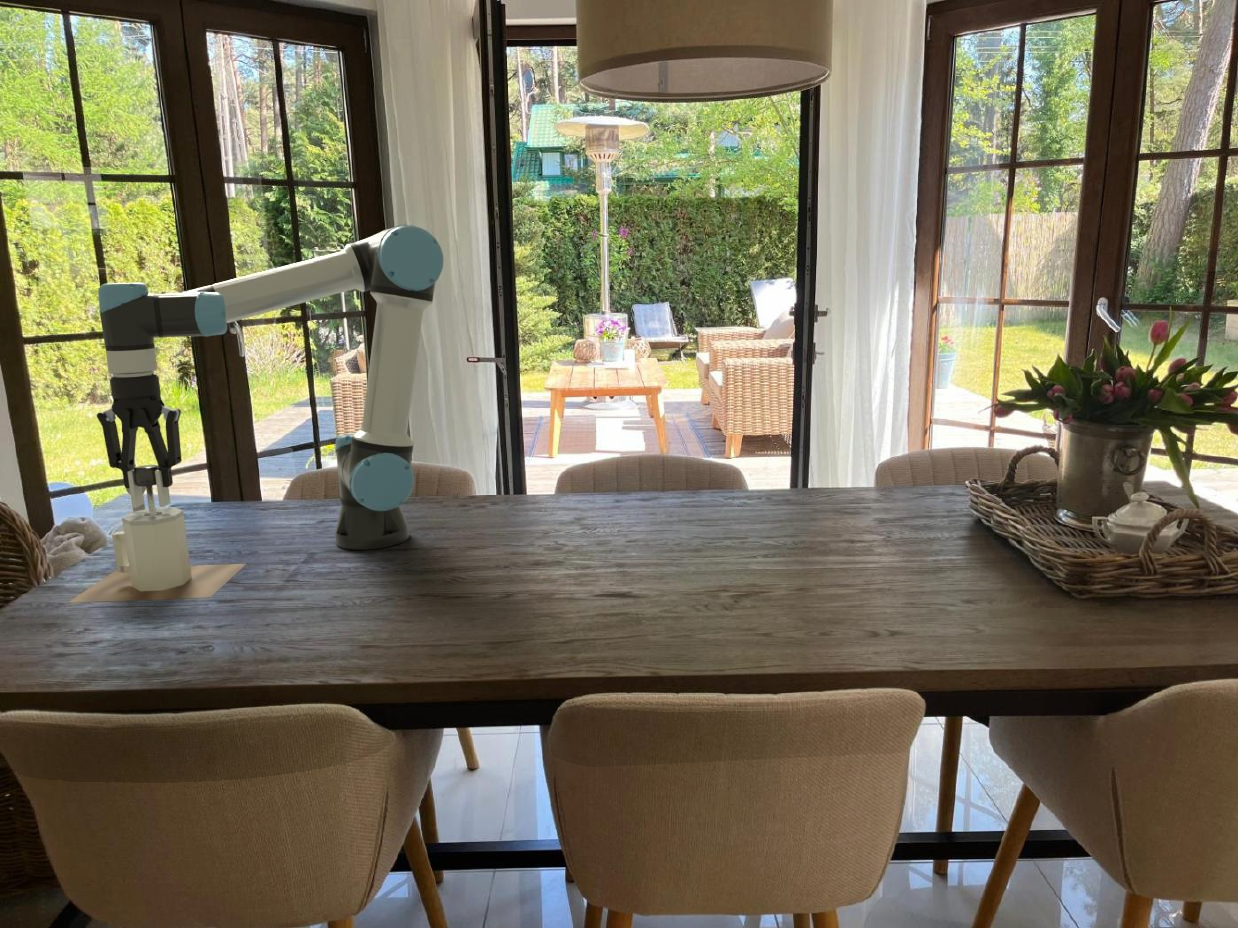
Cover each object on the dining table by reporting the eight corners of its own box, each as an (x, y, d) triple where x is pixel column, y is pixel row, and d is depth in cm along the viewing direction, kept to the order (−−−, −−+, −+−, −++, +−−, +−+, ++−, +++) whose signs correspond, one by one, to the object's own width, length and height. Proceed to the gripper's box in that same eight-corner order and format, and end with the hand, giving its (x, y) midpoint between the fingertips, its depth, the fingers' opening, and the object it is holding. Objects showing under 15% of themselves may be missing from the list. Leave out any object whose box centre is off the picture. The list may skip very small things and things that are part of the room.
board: (247, 571, 174) (246, 563, 174) (211, 605, 157) (210, 597, 156) (119, 575, 173) (118, 568, 173) (68, 610, 156) (67, 602, 155)
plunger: (177, 570, 166) (163, 464, 162) (167, 578, 162) (153, 469, 158) (154, 571, 166) (140, 465, 162) (144, 579, 162) (129, 470, 158)
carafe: (197, 572, 169) (189, 506, 166) (177, 589, 160) (167, 520, 158) (133, 575, 169) (124, 508, 166) (109, 592, 160) (99, 522, 157)
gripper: (193, 370, 160) (208, 498, 165) (94, 372, 160) (112, 501, 165) (175, 375, 153) (192, 509, 158) (71, 378, 152) (91, 512, 157)
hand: (151, 504), depth 161 cm, fingers closed on plunger, 4 cm apart
